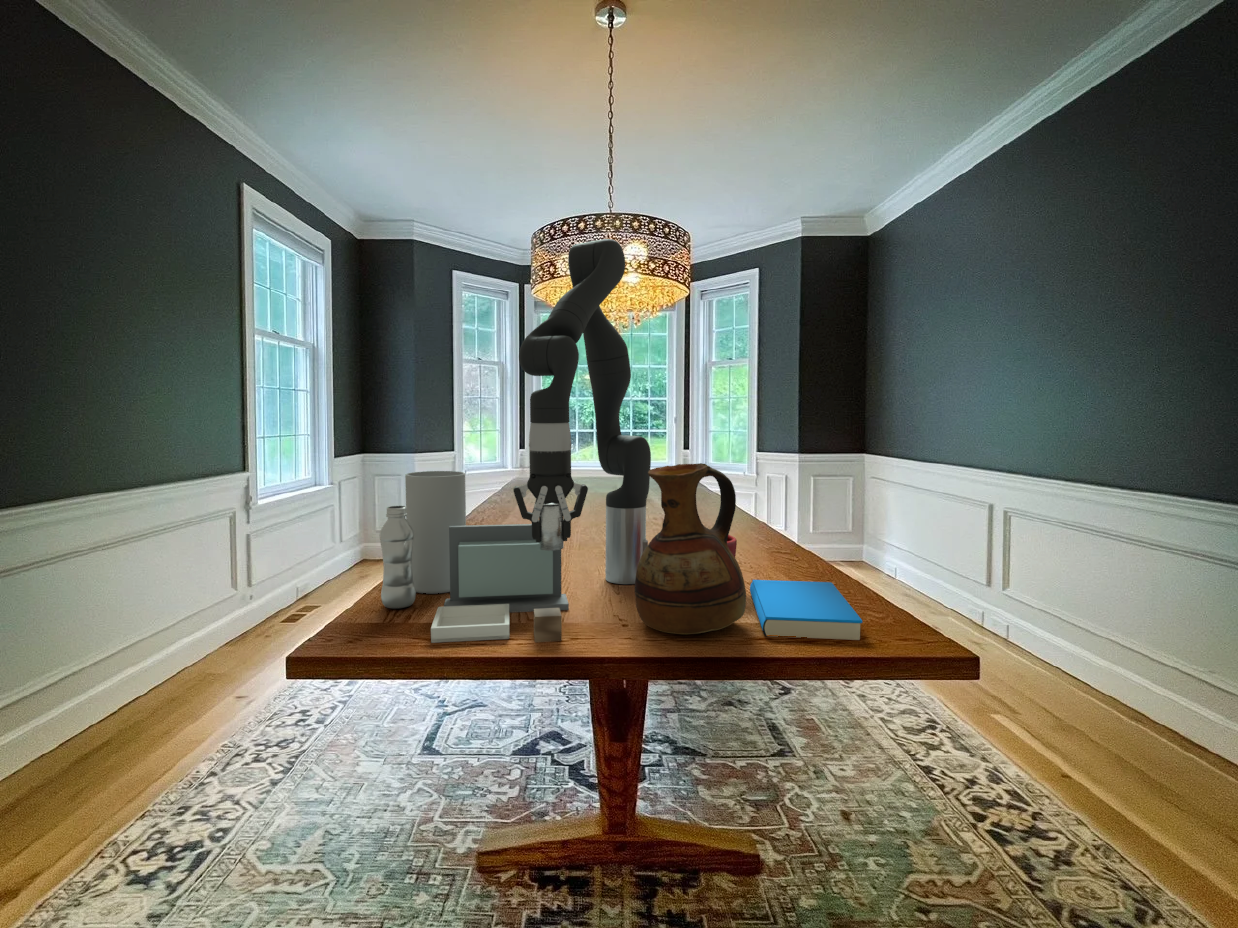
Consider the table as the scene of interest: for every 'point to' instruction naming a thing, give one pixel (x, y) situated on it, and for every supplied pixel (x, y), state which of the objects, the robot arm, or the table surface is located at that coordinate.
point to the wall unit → (503, 568)
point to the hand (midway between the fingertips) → (551, 540)
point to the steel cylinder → (551, 527)
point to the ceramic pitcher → (690, 559)
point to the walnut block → (547, 625)
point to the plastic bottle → (397, 559)
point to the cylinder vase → (433, 525)
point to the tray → (470, 623)
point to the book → (804, 610)
